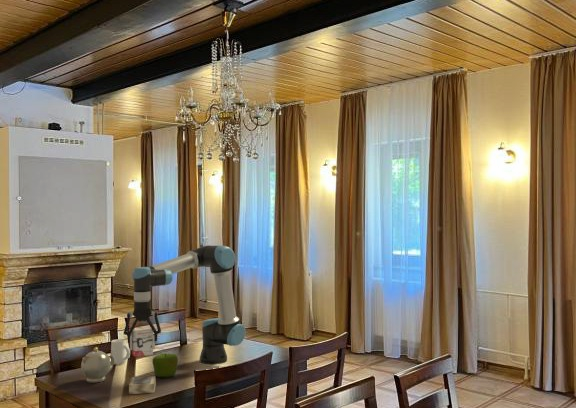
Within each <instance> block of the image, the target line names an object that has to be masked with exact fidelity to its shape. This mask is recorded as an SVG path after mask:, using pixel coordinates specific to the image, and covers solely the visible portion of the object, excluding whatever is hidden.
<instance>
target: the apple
mask: <svg viewBox="0 0 576 408" xmlns="http://www.w3.org/2000/svg"><path fill="white" fill-rule="evenodd" d="M178 360H179V357H178V356H177V355H176V354H174V353H160V354H157V355H155V356H154V357H153V358H152V365H153V371H154V374H155V375H154V376H157V377H159V378H162V379H163V378H164V379H165V378H166V379H167V378H172V377H173V376H174V375H175V374H176V373H177V369H178V362H179V361H178Z"/></svg>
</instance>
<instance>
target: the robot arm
mask: <svg viewBox="0 0 576 408" xmlns="http://www.w3.org/2000/svg"><path fill="white" fill-rule="evenodd" d="M235 263H236V254H235V252H234V250H233V249H232V248H231V247H229V246H226V245H204V246H203V245H202V246H200V247H198V248H194V249H192V250H189V251H187V253H185V254H183V255H180V256H177V257H174V258H170V259H168V260H165V261H163V262H162V261H161V262H159V263H156V264H154V265H153V264H152V265H150V266H138V267H135V268H134V269H133V272H132V275H131V278H132V281H133V312H128V313H127V314H126V323H125V326H124V330H123V335H125V336H127V344H129V349H130V351H132V331H133V330H134V329H135V327H136V325H137V323H138V322H147V324H148V325H149V328H151V329H152V331H153V350H155V349H156V348H155V347H156V342H158V335H159V334H161V332H162V329H161V325H160V322H159V318H158V314H159V313H158V311H152V307H151V306H152V305H151V304H152V303H151V298H152V297H151V295H152V294H151V287H162V286H167V285H170V284H171V283H172V282H173V275H174V274H177V273H180V272H183V271H185V270H188V269H197V268H209V271H210V274H211V275H213V277H214V278H213V279H214V285H215V291H216V297H217V305H218V313H219V317H216V318H208V319H205V320H203V321H202V349H201V352H200V355H199V363H201V364H206V365H207V364H208V365H217V364H223V363H225V362H227V361H228V354H227V351H226V348H225V345H226V346H229V347H230V346H231V347H232V346H233V347H237V346H239V345H241V344H242V342H243V341H244V339H245V338H246V334H247V333H246V332H247V331H246V328H245V326H244V325H243V324H242V323H241V322H240V318H239V317H238V316H237V313H236V305H235V299H234V297H235V296H234V292H233V284H232V277H231V272H232V271H233V267H234V265H235ZM151 316H152V317H154V322H155V324H156V325H155V326H156V327H155V326H154V323H153V322H152V320H151V319H150V317H151ZM132 317H134V318H135V320H134V321H133V323H132V326H131V327H130V328H129V326H130V321H131V318H132ZM156 328H157V329H156ZM128 329H129V331H128Z"/></svg>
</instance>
